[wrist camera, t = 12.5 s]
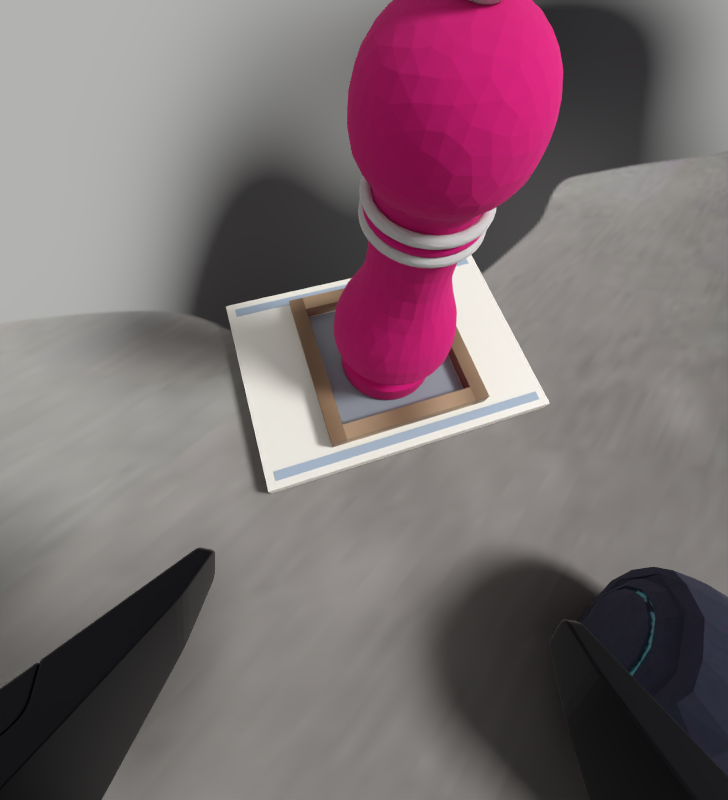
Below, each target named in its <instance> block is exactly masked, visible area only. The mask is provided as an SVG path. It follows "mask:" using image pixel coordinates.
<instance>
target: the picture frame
mask: <svg viewBox="0 0 728 800" xmlns="http://www.w3.org/2000/svg"><path fill="white" fill-rule="evenodd" d="M350 280H351V278H350V279H346V280H342V281H337V282H333V283H328V284H324V285H320V286H315V287H310V288H306V289H301V290H297V291H292V292H288V293H284V294H279V295H275V296H270V297H266V298H262V299H257V300H253V301H248V302H243V303H239V304H235V305H230V306H226V309H227V313H228V318H229V322H230V326H231V331H232V335H233V340H234V344H235V348H236V353H237V357H238V361H239V366H240V370H241V375H242V379H243V383H244V388H245V392H246V396H247V401H248V405H249V409H250V414H251V418H252V422H253V427H254V431H255V436H256V440H257V444H258V449H259V453H260V457H261V462H262V466H263V470H264V475H265V479H266V483H267V488H268V492H269V493H271V494H272V493H275V492H278V491H281V490H285V489H288V488H291V487H294V486H297V485H300V484H304V483H307V482H310V481H313V480H316V479H319V478H323V477H326V476H329V475H332V474H335V473H338V472H341V471H345V470H348V469H351V468H354V467H357V466H360V465H364V464H367V463H370V462H373V461H376V460H379V459H383V458H386V457H389V456H392V455H395V454H398V453H402V452H405V451H408V450H411V449H414V448H417V447H420V446H424V445H427V444H430V443H433V442H436V441H439V440H443V439H446V438H449V437H452V436H455V435H458V434H462V433H465V432H468V431H471V430H474V429H477V428H481V427H484V426H487V425H490V424H493V423H496V422H499V421H503V420H506V419H509V418H512V417H515V416H518V415H522V414H525V413H528V412H531V411H534V410H537V409H541V408H543V407H545V406H546V405H548V404H549V401H548V399H547V397H546V395H545V393H544V391H543V390H542V388H541V386H540V384H539V382H538V380H537V378H536V376H535V374H534V373H533V371H532V369H531V367H530V365H529V363H528V361H527V359H526V357H525V356H524V354H523V352H522V350H521V348H520V346H519V344H518V342H517V340H516V339H515V337H514V335H513V333H512V331H511V329H510V327H509V325H508V323H507V322H506V320H505V318H504V316H503V314H502V312H501V310H500V308H499V306H498V305H497V303H496V301H495V299H494V297H493V295H492V293H491V291H490V289H489V288H488V286H487V284H486V282H485V280H484V278H483V276H482V274H481V273H480V271H479V269H478V267H477V265H476V263H475V261H474V259H473V258H472V256H471V255H470V256H469V257H467V258H466V259H464V260H462V261H460V262H458V263H457V265H456V267H455V270H454V273H453V276H452V284H453V293H454V298H455V303H456V309H457V320H456V326H457V328H458V331H459V333H460V335H461V337H462V339H463V341H464V343H465V345H466V348H467V350H468V352H469V354H470V356H471V358H472V360H473V362H474V364H475V367H476V369H477V371H478V373H479V375H480V377H481V379H482V381H483V383H484V386H485V388H486V390H487V392H488V394H489V397H488V398H487V399H486V400H485V401H484V402H481V403H477V404H474V405H471V406H468V407H464V408H461V409H458V410H454V411H451V412H448V413H444V414H441V415H438V416H435V417H431V418H428V419H425V420H421V421H418V422H415V423H412V424H408V425H405V426H402V427H398V428H395V429H392V430H388V431H385V432H382V433H379V434H375V435H372V436H369V437H365V438H362V439H359V440H356V441H352V442H349V443H346V444H342V445H339V446H336V447H332V445H331V442H330V438H329V435H328V432H327V428H326V425H325V422H324V418H323V415H322V412H321V408H320V405H319V402H318V398H317V395H316V392H315V388H314V385H313V382H312V378H311V375H310V372H309V368H308V365H307V362H306V358H305V355H304V352H303V348H302V345H301V342H300V338H299V335H298V332H297V328H296V325H295V322H294V318H293V315H292V312H291V308H290V304H289V301H290V300H295V299H299V298H304V297H308V296H312V295H317V294H321V293H325V292H330V291H334V290H339V289H343V288H345V287H346V285H347V283H348V282H349V281H350ZM334 317H335V311H330V312H326V313H322V314H318V315H313V316H309V320H310V323H311V326H312V329H313V333H314V336H315V339H316V342H317V345H318V348H319V352H320V355H321V358H322V361H323V364H324V367H325V370H326V374H327V377H328V380H329V383H330V386H331V389H332V393H333V396H334V399H335V402H336V405H337V408H338V412H339V415H340V418H341V421H342V424H346V423H350V422H353V421H357V420H360V419H363V418H367V417H370V416H374V415H377V414H380V413H384V412H387V411H391V410H394V409H397V408H401V407H404V406H408V405H411V404H414V403H418V402H421V401H425V400H428V399H431V398H435V397H438V396H442V395H445V394H448V393H452V392H455V391H459V390H462V389H463V386H462V384H461V382H460V380H459V377H458V375H457V373H456V371H455V369H454V366H453V364H452V362H451V360H450V357H449V355H447V357H446V359H445V360H444V362H443V363H442V364H441V366H440V367H439V368H438V369H437V370H436V371H435V372H433V373H432V374H430V375H429V376H427V377H426V378H425V380H424V382H423V383H422V384H421V385H420V387H419V388H418V389H417V390H415V391H414V392H413V393H411V394H409V395H407V396H405V397H403V398H399V399H394V400H382V399H376V398H372V397H369V396H367V395H365V394H363V393H361V392H360V391H359V390H357V389H356V388H355V387H354V386H353V385H352V384H351V383H350V382H349V380H348V379H347V377H346V375H345V373H344V370H343V367H342V357H341V354H340V352H339V351H338V348H337V345H336V342H335V337H334V327H333V325H334Z"/></svg>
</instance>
